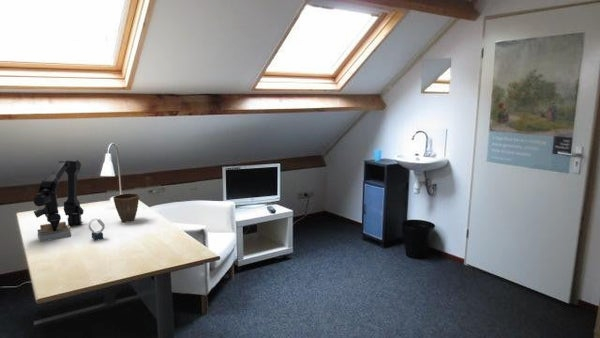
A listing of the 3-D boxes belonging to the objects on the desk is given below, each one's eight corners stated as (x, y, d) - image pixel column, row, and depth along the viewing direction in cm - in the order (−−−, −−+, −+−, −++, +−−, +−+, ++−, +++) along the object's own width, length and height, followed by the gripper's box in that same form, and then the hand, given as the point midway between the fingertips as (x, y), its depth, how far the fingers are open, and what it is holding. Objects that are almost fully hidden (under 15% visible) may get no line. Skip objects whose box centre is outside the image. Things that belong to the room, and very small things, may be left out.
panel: (66, 231, 233) (65, 221, 232) (66, 232, 231) (65, 222, 230) (41, 235, 226) (40, 225, 225) (41, 236, 224) (40, 226, 223)
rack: (38, 234, 230) (37, 227, 229) (68, 229, 239) (67, 223, 238) (40, 241, 218) (39, 234, 217) (72, 236, 227) (71, 229, 226)
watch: (107, 237, 224) (105, 218, 222) (91, 241, 219) (89, 221, 217) (103, 235, 228) (102, 216, 226) (88, 238, 223) (86, 219, 221)
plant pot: (134, 224, 250) (132, 198, 247) (110, 224, 250) (108, 198, 248) (144, 217, 265) (142, 193, 262) (121, 217, 265) (119, 193, 262)
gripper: (32, 200, 228) (35, 227, 230) (35, 207, 213) (38, 236, 216) (55, 198, 235) (58, 224, 237) (59, 204, 220) (62, 232, 222)
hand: (53, 229), depth 228 cm, fingers open, 9 cm apart
